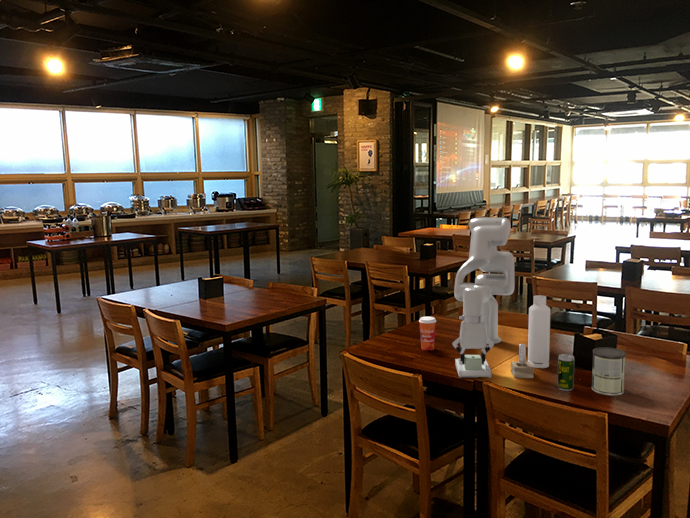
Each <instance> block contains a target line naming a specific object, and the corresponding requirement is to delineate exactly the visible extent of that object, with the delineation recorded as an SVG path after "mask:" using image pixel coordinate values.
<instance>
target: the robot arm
mask: <svg viewBox="0 0 690 518" xmlns="http://www.w3.org/2000/svg"><path fill="white" fill-rule="evenodd" d="M468 227H469V230H470V233H471V235H470V243H469V251H468V253H469V254H468V260H466V261H465V262H464V263H463V264H462V265H461V266H460V268H459V269H458V270H457V272H456V275H455V280H454V289H453V290H454V292H453V294H454V298H455V299H456V300H457V301H458V302H463V304H462V308H463V309H462V315H459V318H458V319H459V320H461V323H460V328H459V329H460V330H459V337H457V338H456V339H455V340H454V341H453V342H452V343H451V345H452V346H453V347H454V349H455V350H456V351H457V352H458V353H459V356H460V357H459V359H460V361H462V364H465V355H466V354H465V350H467V349H470V350H473V349H477V350H478V349H479V350H481V353H480V357H481V359H482V364H484V362H485V359H486V355H487V353H488V352H490V350H491V349H492V348H493V347H494V346H495V344H496V345H497V344H499V343H501V342H502V338H501V337H499V336H498V334H499V333H498V332H499V331H498V328H499V327H498V326H499V325H498V324H499V323H498V322H499V319H498V317H499V315H498V314H499V304H498V301H497V299H496V298H495V297H494V296H496V295H497V296H510V295H512V294H513V293H514V292H515V284H516V283H515V282H516V281H515V280H516V279H515V277H516V276H515V257H514V255H513V253H512V252H510V251H499V250H498V247H503V246H506V244H507V242H508V239H509V236H510V233H511V221H510V219H509V218H507V217H485V216H483V217H482V216H481V217H474V218H471V219H470V220H469V223H468ZM478 269H479V271H481V272H485V273H480V274H478V275H477V276H476V277H475V278H474V282H463V281H464V279H465V277H466V276H467V275H468V274H470V273H471V272H473V271H476V270H478ZM458 344H459V345H460V346H458Z"/></svg>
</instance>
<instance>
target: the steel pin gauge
mask: <svg viewBox="0 0 690 518" xmlns="http://www.w3.org/2000/svg"><path fill="white" fill-rule="evenodd" d="M526 347H527V345H526V343H519V344H518V362H519V366H525V362H526V355H527V353H526V351H527V350H526V349H527V348H526Z"/></svg>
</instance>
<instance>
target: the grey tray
mask: <svg viewBox="0 0 690 518" xmlns="http://www.w3.org/2000/svg"><path fill="white" fill-rule="evenodd" d="M454 360H455V361H454V362H455V364H454V365H455V368H456V371H457V374H458V378H478V377H488V379H489V378H492V370H491V368H490V365H489V364H488V360H487V359H486V358H485V362H484V364H482V370H465V368H464V364H462V361H460V358H455V359H454Z"/></svg>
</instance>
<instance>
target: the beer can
mask: <svg viewBox="0 0 690 518" xmlns="http://www.w3.org/2000/svg"><path fill="white" fill-rule="evenodd" d="M556 381H557V382H556V383H557V384H556V385H557V388H558V390H559V391H564V392H571V391H573V390H574V384H575V383H574V381H575V356H574V355H572V354H569V353H568V354H567V353H561V354H558V357H557V379H556Z"/></svg>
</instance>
